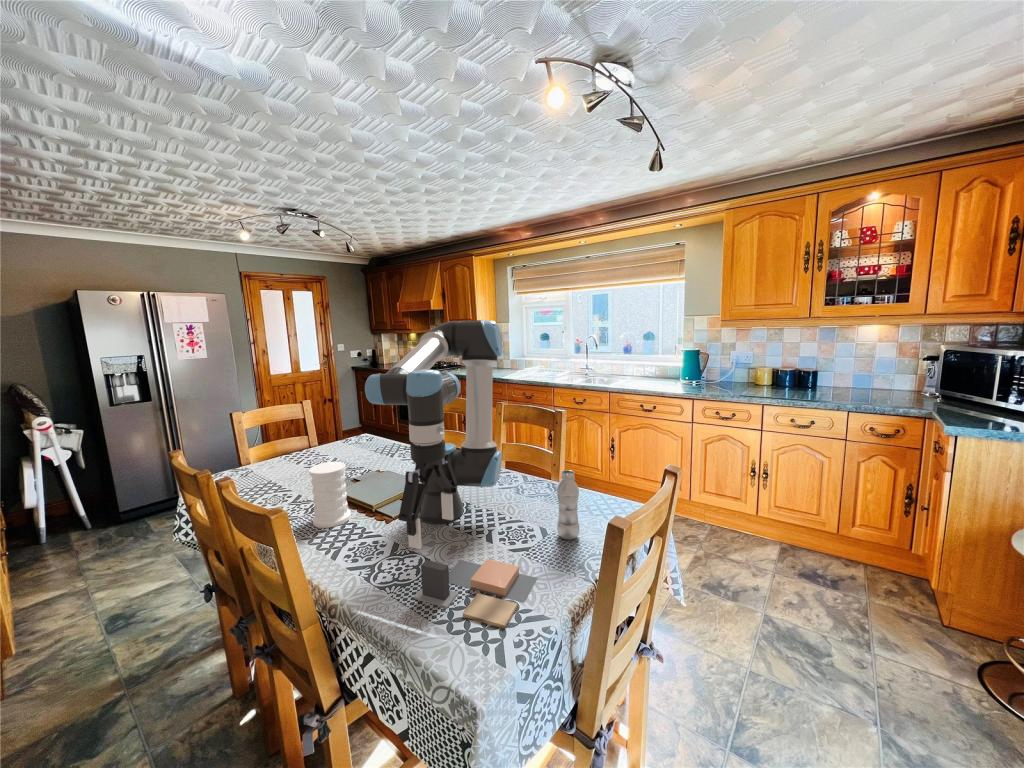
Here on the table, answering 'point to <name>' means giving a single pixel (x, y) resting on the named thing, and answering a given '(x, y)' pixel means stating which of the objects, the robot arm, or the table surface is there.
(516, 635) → the table surface
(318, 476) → the decorative container
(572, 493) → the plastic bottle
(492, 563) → the tile
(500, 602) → the board
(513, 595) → the mat
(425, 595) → the grout float
